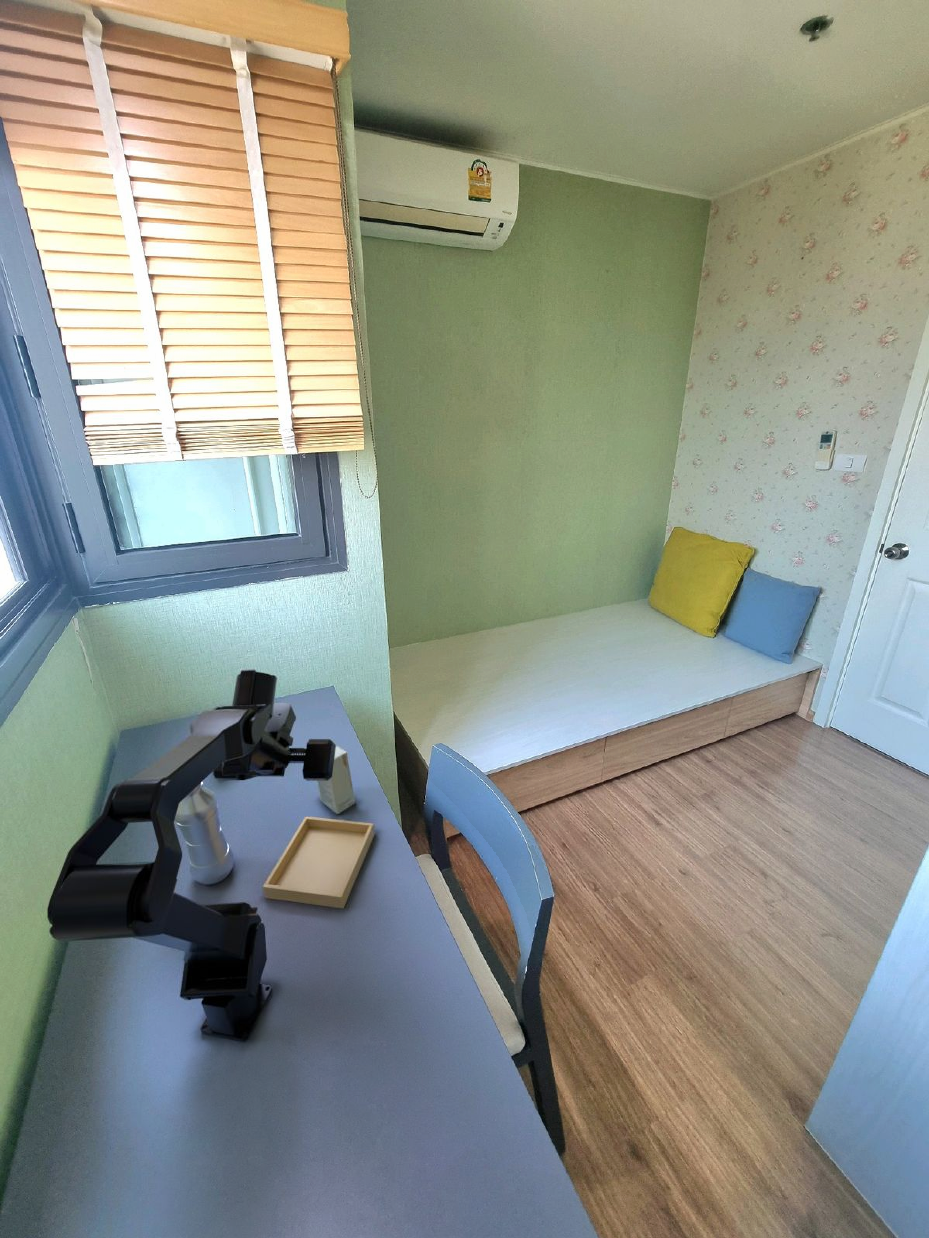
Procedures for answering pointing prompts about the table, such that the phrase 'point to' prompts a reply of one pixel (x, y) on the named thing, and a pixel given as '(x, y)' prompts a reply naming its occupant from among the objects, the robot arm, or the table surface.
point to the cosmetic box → (338, 784)
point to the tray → (320, 862)
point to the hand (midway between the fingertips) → (293, 769)
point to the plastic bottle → (204, 836)
